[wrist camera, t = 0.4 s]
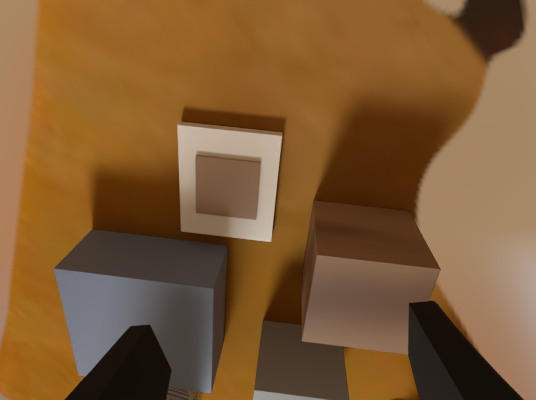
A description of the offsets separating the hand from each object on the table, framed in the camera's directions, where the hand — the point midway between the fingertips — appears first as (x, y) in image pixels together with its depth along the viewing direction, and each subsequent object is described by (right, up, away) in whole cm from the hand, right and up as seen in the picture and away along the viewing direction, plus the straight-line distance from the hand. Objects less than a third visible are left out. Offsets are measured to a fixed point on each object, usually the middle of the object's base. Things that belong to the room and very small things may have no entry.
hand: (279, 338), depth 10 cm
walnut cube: (+4, +1, +10) cm, 11 cm away
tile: (-2, +5, +9) cm, 10 cm away
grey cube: (+2, -6, +14) cm, 16 cm away
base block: (-7, -2, +13) cm, 15 cm away
